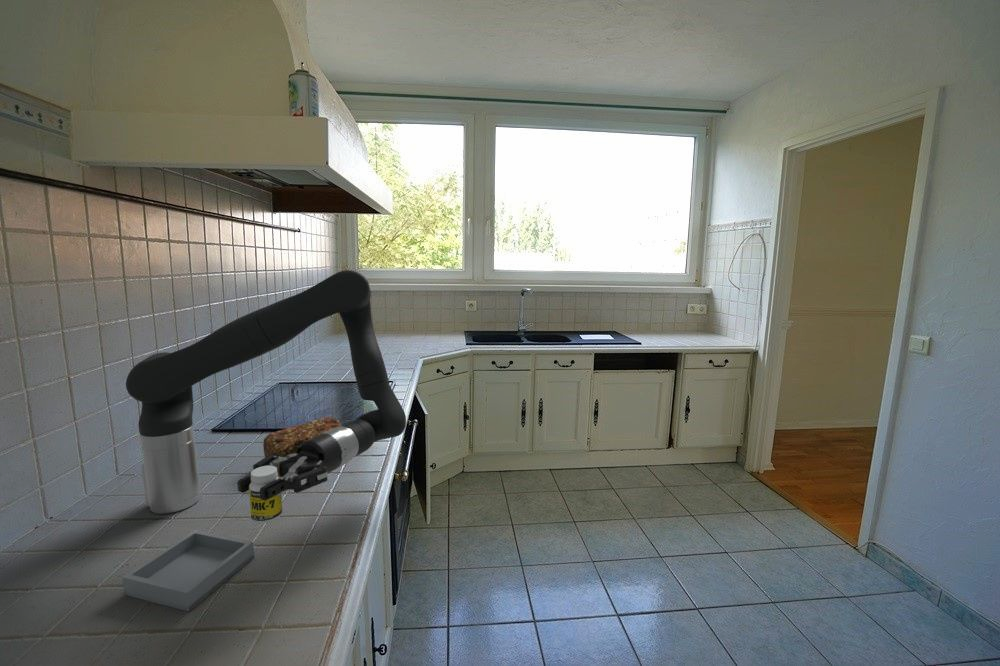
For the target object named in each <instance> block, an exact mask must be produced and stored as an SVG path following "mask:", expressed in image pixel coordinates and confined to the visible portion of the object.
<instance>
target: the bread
mask: <svg viewBox="0 0 1000 666" xmlns="http://www.w3.org/2000/svg"><path fill="white" fill-rule="evenodd" d="M340 426H343V424H341V422H340V421H339V420H338V419H336V418H334V417H322V418H318V419H315V420H312V421H309V422H308V421H307V422H304V423H302V424H298V425H294V426H291V427H288V428H284V429H280V430H277V431H274V432H271V433H269V434H268V435H266V436H265V437H264V439H263V444H262V445H263V453H264V454H263V455H264V458H265V457H267V456H268V455H270V454H271V453H274V452H278V457H285V456H286V455H289V454H293V453H296V451H297V450H298V448H299V446H300V445H301V444H302V443H303V442H304V441H307V440H309V439H311V438H313V437H315V436H318V435H320V434H322V433H324V432H326V431H329V430H331V429H334V428H338V427H340ZM277 472H278V474H280V473H279V466H277Z"/></svg>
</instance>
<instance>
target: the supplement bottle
mask: <svg viewBox="0 0 1000 666" xmlns="http://www.w3.org/2000/svg"><path fill="white" fill-rule="evenodd" d="M250 474H251V483H250V485H249V490H248V493H249V507H250V519H251V520H252V522H253V523H255V524H268V523H271V522H274V521H276V520H277V519H280V518H281V516H282V514H283V498H282V492H281V493H279V494H277V495H276V496H274V497H272V498H270V499H268V500H266V501H264V500H261V499H260V489H261V487H263V486H265V485H267V484H269V483H271V482H273V481H275V480H277V479H279V478H278V472H277V468H276V467H275V466H262V467H259V468H256V469H254V470H252V471H251V472H250Z"/></svg>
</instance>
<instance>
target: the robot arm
mask: <svg viewBox="0 0 1000 666" xmlns="http://www.w3.org/2000/svg"><path fill="white" fill-rule="evenodd" d="M371 297H372V291H371V288H370V282H369V280H368V279H367V277H366V276H365V275H364V274H363V273H361V272H359V271H357V270H353V269H345V270H341V271H337V272H336V273H334V274H332V275H331V276H328V277H327V278H325V279H323V280H322V281H320V282H318V283H316V284H315V285H313V286H311V287H309V288H308V289H305V290H304V291H301V292H299V293H297V294H294V295H292V296H289V297H286V298H283V299H281V300H278V301H276V302H273V303H271V304H269V305H266V306H263V307H262V308H259V309H256V310H254V311H251V312H249V313H247V314H245V315H242V316H240V317H238V318H236V319H235V320H232V321H230V322H228V323H227V324H225V325H223V326H222V327H220V328H217V329H215V330H214V331H212V333H209V334H208V335H207V336H204V337H203V338H202V339H200V340H198V341H196V342H194V343H193V344H191V345H188V346H186V347H183V348H181V349H178V350H176V351H173V352H165V351H164V352H158V353H154V354H152V355H149V356H148V357H146V358H144V359H142V360H141V361H139V362H138V363H137V364H135V365H134V366H133V367H132V368H131V369H130V371H129V373H128V375H127V376H126V382H125V388H126V391H127V393H128V395H129V396H131V398H132V399H134V400H135V401H138V402H141V412H140V416H139V420H138V431H139V439H140V446H141V453H142V454H141V455H142V461H143V464H142V465H141V466H140V467H141V475H142V480H143V491H144V495H145V505H146V507H148V508H149V511H151V513H153V514H162V515H164V514H172V513H175V512H176V513H177V512H179V511H182V510H185V509H187V508H191V506H193V505H194V504H197V503H198V502H199V501H200V500H201V496H202V493H201V492H202V491H201V484H200V483H201V482H200V475H199V473H200V472H199V465H198V457H197V449H196V448H197V446H196V441H195V440H196V438H195V432H194V431H195V430H194V423H193V413H194V395H193V386H195V385H196V384H197V383H200V382H202V381H203V380H205V379H207V378H208V377H211V376H214V375H216V374H217V373H221V372H222V371H225V370H228V369H230V368H233V367H236V366H239V365H241V364H243V363H246V362H248V361H250V360H254V359H255V358H258V357H260V356H262V355H264V354H265V355H266V354H267V353H269V352H271V351H274V350H275V349H278V348H279V347H282V346H284V345H285V344H287V343H288V342H290V341H292V340H293V339H295V338H296V337H297V336H298V335H300V334H301V333H303V332H304V331H305V330H307V329H308V328H309V327H310V326H312V325H313V324H315V323H317V322H319V321H321V320H323V319H326V318H328V317H331V316H334V315H336V314H339V316H340V318H341V320H342V323H343V326H344V329H345V331H346V334H347V335H346V336H347V340H348V344H349V349H350V351H349V352H350V357H351V358H350V359H351V362H352V363H351V364H352V368H353V373H354V377H355V381H356V385H357V389H358V392H359V397H360V398H361V399H362V400H364V401H371V402H373V403H374V404H375V406H376V407H377V408H376V409H374V410H370V411H368V412H365V413H363V414H362V415H359V417H357V418H356V419H354V420H353V421H349V422H348V423H345V424H342V426H340V427H338V428H334V429H331V430H329V431H326V432H324V433H322V434H320V435H318V436H315V437H313V438H311V439H309V440H307V441H304V442H303V443H302V444H301V445H300V446H299V448H298V450H297V451H296V453H293V454H289V455H286V456H285V457H278V452H274V453H271V454H270V455H268V456H267V457H265V456H264V458H262V459H260V460H259V461H257V462H255V464H253V465H252V467H253V470H254V469H256V468H259V467H262V466H275V467H276V468H277V466H279V473H280V474H278V478H279V479H277V480H275V481H273V482H271V483H269V484H267V485H265V486H263V487H261V489H260V499H261V500H264V501H266V500H268V499H270V498H272V497H274V496H276V495H277V494H279V493H281V494H282V493H283V492H284V493H286V492H287V493H288V492H291V491H292V490H293V492H294V493H301V492H303V491H305V490H306V491H307V490H308V489H310V488H313V487H316V486H318V485H321V484H323V483H325V482H328V474H331V472H333V471H335V470H337V469H338V468H340V467H342V466H344V465H345V464H347V463H349V462H350V461H352V460H353V459H354V458H356V457H358V456H360V455H361V454H363V453H365V452H366V451H368V450H369V449H371V447H372V446H373V445H374V443H376V442H378V441H382V440H386V439H392V438H396V437H398V436H401V435H402V434H403V433H404V431H405V429H406V427H407V426H406V425H407V417H406V413H405V411H404V409H403V406H402V405H401V403H400V401H399V400H398V398H397V395H396V393H395V392H394V391H393V389H392V386H391V384H390V381H389V376H388V373H387V369H386V365H385V361H384V358H383V355H382V353H381V349H380V346H379V343H378V340H377V337H376V334H375V328H374V324H373V318H372V307H371V306H372V304H371ZM253 470H252V471H253ZM304 481H306V482H305V483H303V482H304ZM250 483H251V473H250V474H249V475H246V476H244V477H243V478H240V479H239V480H237V491H238V492H240V493H246V492H247V491H248V492H249V485H250Z"/></svg>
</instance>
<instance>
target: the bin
mask: <svg viewBox="0 0 1000 666" xmlns="http://www.w3.org/2000/svg"><path fill="white" fill-rule="evenodd" d="M254 559H255V551H254V542H253V541H251V540H247V539H246V540H245V539H240V538H236V537H232V536H227V535H222V534H217V533H211V532H206V531H203V530H202V531H201V530H197V529H195V530H192V532H190V533H188V534H187V535H185V536H184V537H181V539H179V540H178V541H176V542H175V543H173V544H171V545H170V546H168V547H167V548H165V549H163V550H162V551H160V552H159V553H158V554H156V555H154V556H153V557H152V558H151V557H150V559H148V560H147V561H144V563H142V564H141V565H139V566H137V567H136V568H135V569H133V570H132V571H130V572H128V573H127V574H125V575H123V576H121V577H122V584H123V589H124V596H128V597H132V598H136V599H139V600H144V601H147V602H150V603H154V604H159V605H162V606H166V607H170V608H173V609H178V610H181V611H185V612H191V611H192V610H193V609H194V608H195V607H197V606H198V605H199V604H201V602H203V601H204V600H205V599H206V598H208V597H209V596H210V595H211V594H212V593H213V592H215V591H216V590H217V589H219V588H220V586H222V585H223V584H225V583H226V582H227V581H228V580H230V578H232V577H233V576H234V575H235V574H236V573H238V572H239V571H240V570H241V569H243V568H244V567H245V566H246V565H248V564H249V563H250V562H251V561H252V560H254Z"/></svg>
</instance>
